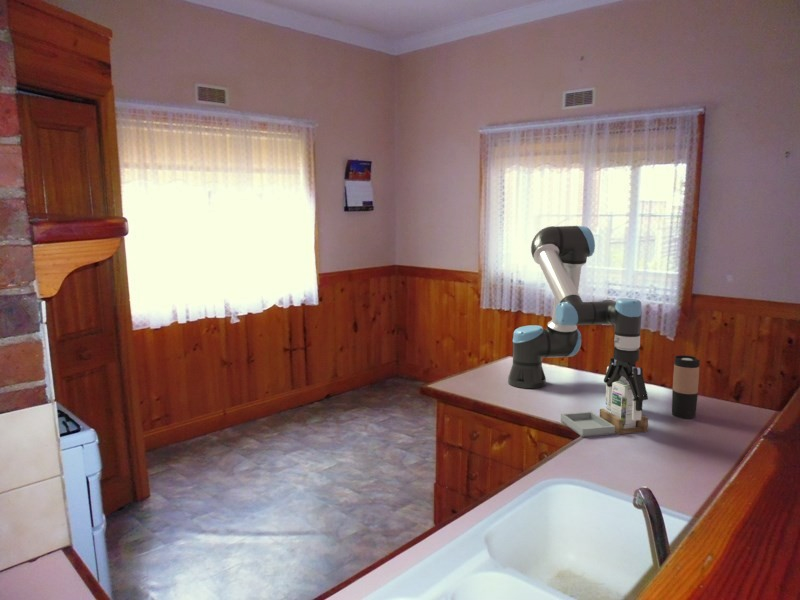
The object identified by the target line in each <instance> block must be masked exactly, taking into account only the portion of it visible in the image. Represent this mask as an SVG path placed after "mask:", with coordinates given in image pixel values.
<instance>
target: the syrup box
mask: <svg viewBox="0 0 800 600" xmlns="http://www.w3.org/2000/svg"><path fill="white" fill-rule="evenodd" d="M637 396H638V395H637ZM633 399H634V396H633V393H632V390H631V388H630V385H629V382H627V381H617V382H613V383H612V400H611V410H610V413H611V414H613V415H615V416H616V417H618V418H620V419H621V420H623V426H622V429H627V428H636V420H635V421H633V420H632V405H633Z"/></svg>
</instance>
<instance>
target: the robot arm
mask: <svg viewBox="0 0 800 600" xmlns="http://www.w3.org/2000/svg"><path fill="white" fill-rule="evenodd" d="M595 249H596V243H595V237H594V234H593V231H592V230H591V229H590V228H589V227H588V226H581V225H564V226H562V225H561V226H559V225H558V226H557V225H556V226H555V225H553V226H551V225H550V226H546V227H544V228H542V229H540V230H539V231H538V232H537V233H536V234H535V235H534V237H533V239H532V241H531V245H530V252H531V253H530V254H531V256H532V259H533V261H534V262H535V263H536V264H538V265H539V267H540V269H541V271H542V273H543V275H544V277H545V279H546V282H547V283H548V285H549V288H550V290H551V292H552V294H553V296H554V300H553V307H552V316H551V320H550V321H548V322H547V327H546V328H544V327H543V326H541V325H537V324H535V325H524V326H519V327H518V328H516V329H515V330H514V331H513V337H512V365H511V368H510V370H509V374H508V376H507V384H508V385H511V386H512V387H516V388H520V389H539V388H542V387H545V386H546V384H547V378H546V375H545V371H544V368H543V359H545V358H546V359H549V358H567V357H568V358H570V357H574V356H575V355H577V354H578V353H579V351H580V349H581V346H582V334H581V332H580V329H578V326H584V325H585V326H588V325H612V326H614V339H613V346H614V348H613V356H612V357H611V358H610V360H609V365H608V366H609V368H608V370H607V369H606V371H607V373H605V375H604V378H603V382H604V383H605V384H606V383H607V386H608V401H607V406H611V400H612V383H613V382H617V381H618V380H619V379H620V378H621V376H623V377H624V378H626V380H627V381H628V382H629V385H630V388H631V390H632V393H633V396H634V399H633V405H632V420H633V421H635V420H641V414H642V412H643V402H644V401H647V400H649V396H648V392H647V388H646V383H645V379H644V373H643V371H644V370H643V367H637V366H636V364H637V362H639V361H640V349H639V348H641V329H642V314H643V310H642V302H641V301H640V299H636V298H630V297H629V298H625V297H624V298H618V299H617V300H616V301H615V300H613V299H601V300H599V301H583V300H582V298H581V296H580V294H579V290H580V289H579V287H580V282H581V280H580V279H581V274H582V273H581V272H582V267H583V266H585V264H587V259H588V258H590V257H591V256H593V254H594V252H595ZM632 376H633V377H632ZM608 378H609V379H608ZM637 395H638V396H637Z"/></svg>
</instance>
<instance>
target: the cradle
mask: <svg viewBox="0 0 800 600" xmlns="http://www.w3.org/2000/svg"><path fill="white" fill-rule="evenodd" d="M599 417H601V418H603V419H604V420H606V421H607V422H609V423H610V424H612V425H614V426H615V434H617V435H623V434H630V433H631V434H633V433H647V432H648V428H649V427H648V426H649V417H647V416H646V415H643V414H642V413H641V420H636V428H627V429H622V426H623V420H621V419H620V418H618V417H616V416H615V415H613V414H611V411H608V410H607V409H605V408H599Z"/></svg>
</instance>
